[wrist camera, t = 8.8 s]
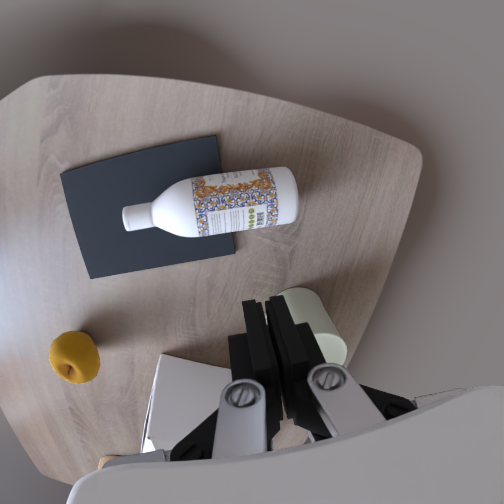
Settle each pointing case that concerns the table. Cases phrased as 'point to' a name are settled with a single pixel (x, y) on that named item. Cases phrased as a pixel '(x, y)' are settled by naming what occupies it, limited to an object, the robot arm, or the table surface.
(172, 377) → the gable box
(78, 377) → the apple
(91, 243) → the mat
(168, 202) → the bath foam
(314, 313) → the can
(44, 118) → the table surface
